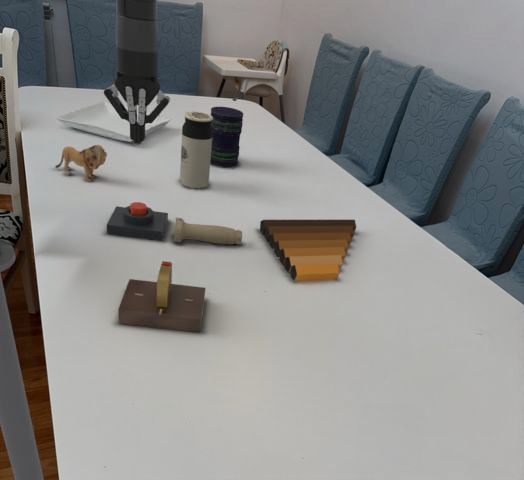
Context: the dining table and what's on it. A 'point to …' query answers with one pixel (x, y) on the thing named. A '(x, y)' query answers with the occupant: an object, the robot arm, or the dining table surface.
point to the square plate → (106, 121)
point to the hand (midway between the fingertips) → (137, 142)
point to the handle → (206, 233)
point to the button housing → (137, 224)
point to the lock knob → (164, 284)
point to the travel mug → (196, 149)
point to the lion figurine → (84, 159)
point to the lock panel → (173, 317)
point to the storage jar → (225, 136)
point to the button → (138, 208)
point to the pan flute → (310, 246)
